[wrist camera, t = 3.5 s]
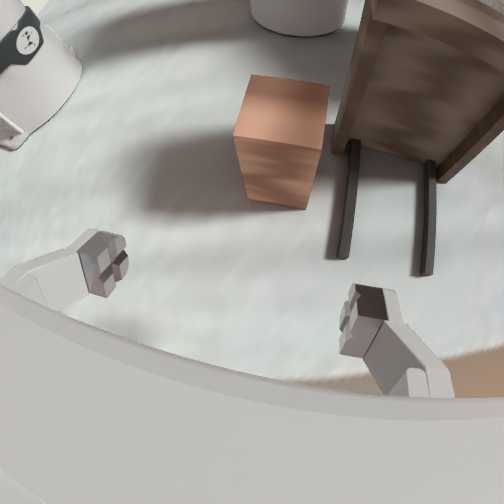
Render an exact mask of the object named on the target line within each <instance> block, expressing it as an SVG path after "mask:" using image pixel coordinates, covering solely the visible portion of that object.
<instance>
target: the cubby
mask: <svg viewBox="0 0 504 504" xmlns="http://www.w3.org/2000/svg"><path fill="white" fill-rule="evenodd" d="M503 130H504V15H503V14H502V13H500V12H498V11H496V10H495V9H493V8H491V7H489V6H488V5H486V4H484V3H482V2H480V1H478V0H365V4H364V8H363V13H362V17H361V22H360V26H359V30H358V35H357V39H356V43H355V47H354V52H353V56H352V60H351V64H350V68H349V72H348V76H347V80H346V84H345V87H344V91H343V95H342V99H341V103H340V106H339V110H338V114H337V118H336V121H335V127H334V136H333V145H332V153H333V154H338V155H342V154H343V152H344V149H345V146H346V144H347V143H349V144H350V156H349V166H348V176H347V185H346V194H345V202H344V210H343V218H342V225H341V233H340V239H339V246H338V253H337V258H342V259H347V258H348V257H349V252H350V245H351V238H352V230H353V222H354V214H355V205H356V196H357V186H358V175H359V163H360V149H361V146H362V147H366V148H370V149H374V150H378V151H382V152H386V153H389V154H393V155H397V156H400V157H404V158H407V159H410V160H414V161H417V162H420V163H424V170H425V209H424V234H423V249H422V261H421V271H420V275H425V276H430V275H433V267H434V254H435V238H436V168H437V181H439V182H442V183H447V182H448V181H449V180H450V179H451V178H453V177H454V176H455V175H456V174H457V173H458V172H459V171H460V170H461V169H463V168H464V167H465V166H466V165H467V164H468V163H469V162H470V161H471V160H473V159H474V158H475V157H476V156H477V155H478V154H479V153H480V152H481V151H482V150H483V149H484V148H485V147H486V146H488V145H489V144H490V143H491V142H492V141H493V140H494V139H495V138H496V137H497V136H498V135H499V134H500V133H501V132H502V131H503Z"/></svg>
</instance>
